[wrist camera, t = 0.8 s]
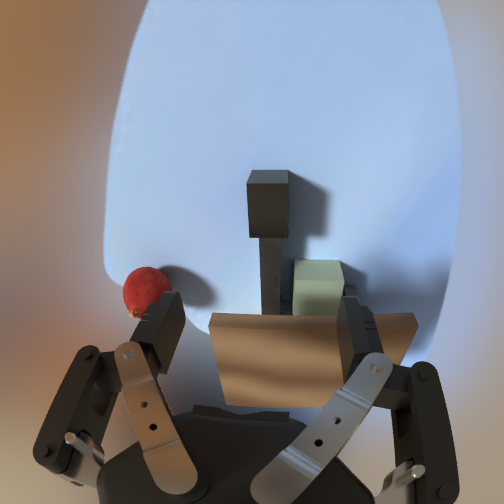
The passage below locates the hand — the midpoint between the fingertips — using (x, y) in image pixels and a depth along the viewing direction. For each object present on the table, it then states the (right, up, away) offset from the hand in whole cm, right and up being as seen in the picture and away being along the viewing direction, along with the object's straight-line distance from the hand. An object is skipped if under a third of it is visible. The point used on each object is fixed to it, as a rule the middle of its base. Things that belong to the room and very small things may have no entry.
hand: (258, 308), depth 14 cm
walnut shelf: (+6, -2, +19) cm, 20 cm away
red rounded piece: (-12, 0, +21) cm, 24 cm away
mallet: (+6, +3, +17) cm, 18 cm away
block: (+7, 0, +19) cm, 20 cm away
